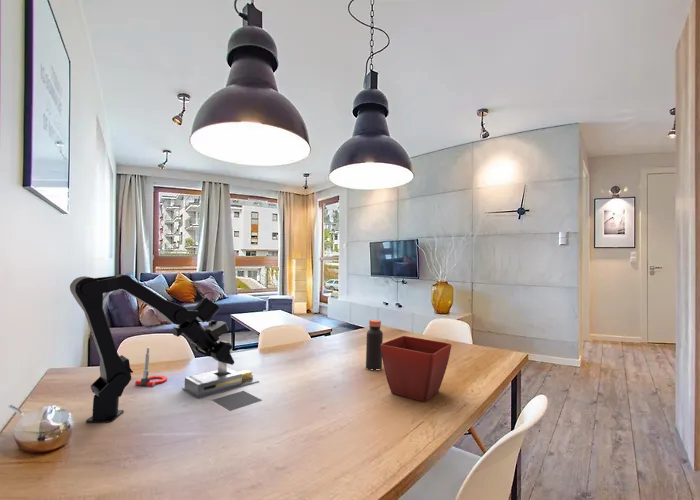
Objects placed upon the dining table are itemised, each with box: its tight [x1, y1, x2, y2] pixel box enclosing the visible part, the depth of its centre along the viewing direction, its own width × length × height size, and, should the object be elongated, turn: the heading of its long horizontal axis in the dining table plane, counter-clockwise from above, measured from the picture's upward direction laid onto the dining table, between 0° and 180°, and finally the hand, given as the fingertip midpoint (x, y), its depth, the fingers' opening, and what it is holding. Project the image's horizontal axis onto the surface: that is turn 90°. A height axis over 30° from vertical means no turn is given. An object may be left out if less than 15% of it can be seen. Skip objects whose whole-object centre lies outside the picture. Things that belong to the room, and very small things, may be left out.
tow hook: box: [134, 347, 168, 388], centre depth 123 cm, size 8×13×9 cm
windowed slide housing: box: [181, 367, 260, 400], centre depth 120 cm, size 22×12×4 cm, turn 138°
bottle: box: [365, 319, 384, 371], centre depth 146 cm, size 7×7×20 cm
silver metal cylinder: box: [217, 361, 228, 377], centre depth 120 cm, size 4×4×12 cm
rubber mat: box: [212, 390, 263, 412], centre depth 108 cm, size 11×11×1 cm
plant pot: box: [381, 335, 452, 403], centre depth 120 cm, size 19×19×17 cm
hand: (226, 360), depth 122 cm, fingers open, 9 cm apart
